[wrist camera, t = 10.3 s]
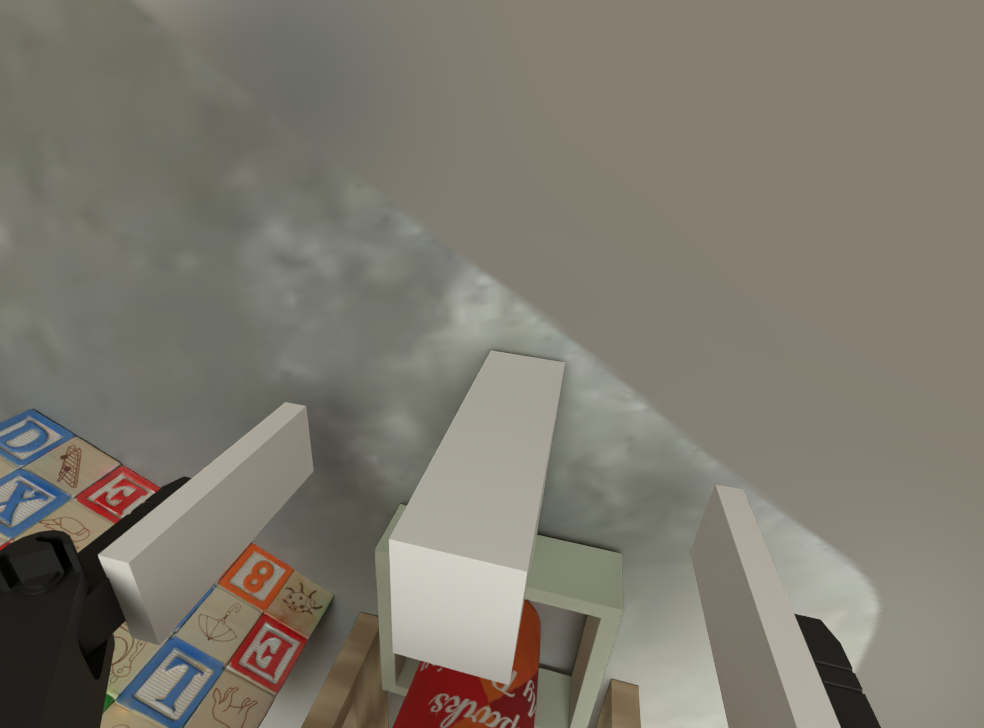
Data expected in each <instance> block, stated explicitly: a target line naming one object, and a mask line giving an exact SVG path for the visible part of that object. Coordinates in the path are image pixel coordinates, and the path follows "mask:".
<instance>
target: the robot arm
mask: <svg viewBox="0 0 984 728" xmlns="http://www.w3.org/2000/svg"><path fill="white" fill-rule="evenodd" d="M313 471H314V470H313V461H312V452H311V444H310V435H309V426H308V417H307V409H306V406H303V405H298V404H292V403H287V402H285V403H284V404H283V405H282V406H280V407H279V408H278V409H277V410H275V411H274V412H273V413H272V414H270V415H269V416H268V417H267V418H266V419H264V420H263V421H262V422H261V423H259V424H258V425H257V426H256V427H254V428H253V429H252V430H251V431H250V432H248V433H247V434H246V435H245V436H243V437H242V438H241V439H240V440H238V441H237V442H236V443H235V444H234V445H232V446H231V447H230V448H229V449H227V450H226V451H225V452H224V453H222V454H221V455H220V456H219V457H218V458H216V459H215V460H214V461H213V462H211V463H210V464H209V465H208V466H206V467H205V468H204V469H203V470H202V471H200V472H199V473H198V474H197V475H195V476H194V477H193V478H188V477H182V478H180V479H178V480H176V481H174V482H171V483H169V484H167V485H165V486H163V487H162V488H160V489H159V490H158V491H157V492H155V493H154V494H153V495H151V496H150V497H149V498H148V499H146V500H145V503H141V504H140V505H139V506H137V507H136V508H135V509H133V510H132V511H131V513H130V514H127V515H126V516H124V517H123V518H122V519H121V520H119V521H118V522H117V523H115V524H114V525H113V526H112V527H110V528H109V529H108V530H106V531H105V532H104V533H103V534H101V535H100V536H99V537H97V538H96V539H95V540H94V541H92V542H91V543H90V544H88V545H87V546H86V547H85V548H83V549H82V550H81V551H79V552H78V553H77V550H76V548H75V546H74V543H73V541H72V539H71V537H70V535H68V534H67V533H66V532H64V531H58V530H49V531H41V532H37V533H34V534H31V535H28V536H25V537H22V538H20V539H18V540H16V541H14V542H12V543H10V544H8V545H7V546H6V547H4V548H3V549H2V550H0V728H100V726H101V721H102V715H103V709H104V704H105V698H106V692H107V687H108V681H109V676H110V670H111V664H112V659H113V653H114V647H115V639H114V635H113V633H114V632H115V631H116V630H117V629H118V628H119V627H120V626H121V625H122V624H123V623H124V622H126V625H127V627H128V630H129V632H130V634H131V637H132V638H135V639H139V640H142V641H145V642H149V643H152V644H156V645H159V646H160V645H161V643H162V642H163V641H164V640H165V639H166V638H167V637H168V635H169V634H170V633H171V632H172V631H173V630H174V629H175V628H176V626H177V625H178V624H179V623H180V622H181V621H182V620H183V618H184V617H185V616H186V615H187V614H188V613H189V612H190V611H191V609H192V608H193V607H194V606H195V605H196V604H197V603H198V601H199V600H200V599H201V598H202V597H203V596H204V595H205V594H206V592H207V591H208V590H209V589H210V588H211V587H212V586H213V585H214V583H215V582H216V581H217V580H218V579H219V578H220V577H221V575H222V574H223V573H224V572H225V571H226V570H227V569H228V568H229V566H230V565H231V564H232V563H233V562H234V561H235V560H236V558H237V557H238V556H239V555H240V554H241V553H242V552H243V551H244V549H245V548H246V547H247V546H248V545H249V544H250V543H251V542H252V540H253V539H254V538H255V537H256V536H257V535H258V534H259V532H260V531H261V530H262V529H263V528H264V527H265V526H266V525H267V523H268V522H269V521H270V520H271V519H272V518H273V517H274V515H275V514H276V513H277V512H278V511H279V510H280V509H281V508H282V506H283V505H284V504H285V503H286V502H287V501H288V500H289V499H290V497H291V496H292V495H293V494H294V493H295V492H296V491H297V489H298V488H299V487H300V486H301V485H302V484H303V483H304V482H305V480H306V479H307V478H308V477H309V476H310V475H311V474H312V472H313ZM691 557H692V561H693V566H694V571H695V575H696V580H697V584H698V589H699V593H700V598H701V603H702V607H703V612H704V616H705V621H706V626H707V630H708V635H709V639H710V644H711V648H712V653H713V658H714V662H715V667H716V671H717V676H718V681H719V685H720V690H721V694H722V699H723V703H724V708H725V713H726V717H727V722H728V726H729V728H881V727H880V725H879V723H878V721H877V718H876V716H875V714H874V712H873V710H872V708H871V706H870V704H869V702H868V700H867V698H866V696H865V694H863V693H862V687H861V686H860V683H859V681H858V679H857V677H856V675H855V673H853V672H852V666H851V664H850V662H849V660H848V658H847V656H846V654H845V652H844V650H843V648H842V645H841V643H840V642H839V641H838V640H837V639H836V637H835V636H834V635H833V634H832V633H831V632H830V630H829V629H828V628H827V627H826V626H825V625H824V623H823V622H822V621H821V620H819V619H815V618H810V617H806V616H802V615H797V614H794V612H793V610H792V608H791V605H790V603H789V600H788V598H787V595H786V593H785V590H784V588H783V586H782V583H781V581H780V578H779V576H778V573H777V571H776V569H775V566H774V564H773V561H772V559H771V556H770V554H769V552H768V549H767V547H766V544H765V542H764V539H763V537H762V534H761V532H760V530H759V527H758V525H757V522H756V520H755V517H754V515H753V513H752V510H751V508H750V505H749V503H748V500H747V498H746V496H745V493H744V491H743V490H742V489H736V488H731V487H726V486H721V485H716V484H715V487H714V490H713V492H712V495H711V498H710V501H709V503H708V506H707V509H706V511H705V514H704V517H703V519H702V522H701V525H700V528H699V530H698V533H697V536H696V538H695V541H694V544H693V546H692V549H691Z"/></svg>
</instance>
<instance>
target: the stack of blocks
mask: <svg viewBox="0 0 984 728" xmlns="http://www.w3.org/2000/svg"><path fill="white" fill-rule="evenodd" d="M159 489H160V488H159V487H158V486H156V485H154V484H153V483H151V482H150V481H148V480H146V479H145V478H143V477H142V476H140V475H138V474H137V473H135V472H133V471H131V470H130V469H128V468H127V467H124V466H121V464H120V463H119V462H118V461H116V460H114V459H113V458H111V457H109V456H108V455H106V454H104V453H103V452H101V451H100V450H98V449H96V448H95V447H93V446H92V445H90V444H88V443H87V442H85V441H84V440H82V439H80V438H79V437H76V436H75V435H74V434H73V433H71V432H69V431H68V430H66V429H65V428H63V427H61V426H60V425H58V424H56V423H55V422H53V421H51V420H50V419H48V418H46V417H44V416H43V415H41V414H40V413H38V412H37V411H35V410H33V409H29V410H27V411H25V412H22V413H20V414H18V415H16V416H14V417H12V418H10V419H7V420H5V421H3V422H1V423H0V550H2V549H3V548H4V547H6V546H7V545H8V544H10V543H12V542H14V541H16V540H18V539H20V538H22V537H25V536H28V535H31V534H34V533H37V532H41V531H49V530H58V531H64V532H66V533H67V534H68V535H70V537H71V539H72V541H73V543H74V546H75V548H76V550H77V553H78V552H79V551H81V550H82V549H83V548H85V547H86V546H87V545H88V544H90V543H91V542H92V541H94V540H95V539H96V538H97V537H99V536H100V535H101V534H103V533H104V532H105V531H106V530H108V529H109V528H110V527H112V526H113V525H114V524H115V523H117V522H118V521H119V520H121V519H122V518H123V517H124V516H126V515H127V514H130V513H131V511H132V510H133V509H135V508H136V507H137V506H139V505H140V504H141V503H145V500H146V499H148V498H149V497H150V496H151V495H153V494H154V493H155V492H157V491H158V490H159ZM333 597H334V595H333V594H331V593H330V592H328V591H326V590H325V589H323V588H322V587H320V586H318V585H317V584H315V583H314V582H312V581H310V580H309V579H307V578H306V577H304V576H303V575H301V574H299V573H298V572H296V571H295V570H294V569H293V568H291V567H290V566H288V565H286V564H285V563H283V562H282V561H280V560H278V559H277V558H275V557H274V556H272V555H270V554H269V553H267V552H266V551H264V550H262V549H261V548H259V547H258V546H256V545H254V544H252V543H250V544H249V545H248V546H247V547H246V548H245V549H244V551H243V552H242V553H241V554H240V555H239V556H238V557H237V558H236V560H235V561H234V562H233V563H232V564H231V565H230V566H229V568H228V569H227V570H226V571H225V572H224V573H223V574H222V575H221V577H220V578H219V579H218V580H217V581H216V582H215V583H214V585H213V586H212V587H211V588H210V589H209V590H208V591H207V592H206V594H205V595H204V596H203V597H202V598H201V599H200V600H199V601H198V603H197V604H196V605H195V606H194V607H193V608H192V609H191V611H190V612H189V613H188V614H187V615H186V616H185V617H184V618H183V620H182V621H181V622H180V623H179V624H178V625H177V626H176V628H175V629H174V630H173V631H172V632H171V633H170V634H169V635H168V637H167V638H166V639H165V640H164V641H163V642H162V643H161V645H160V646H159V645H156V644H152V643H149V642H145V641H142V640H139V639H135V638H132V637H131V634H130V632H129V630H128V627H127V625H126V622H124V623H123V624H122V625H121V626H120V627H119V628H118V629H117V630H116V631H115V632H114V633H113V635H114V639H115V647H114V653H113V659H112V664H111V670H110V676H109V681H108V687H107V692H106V698H105V704H104V709H103V715H102V721H101V726H100V728H258V727H259V726H260V724H261V723H262V721H263V719H264V718H265V716H266V714H267V713H268V711H269V709H270V707H271V705H272V703H273V702H274V699H275V697H276V695H277V694H278V692H279V691H280V689H281V687H282V685H283V684H284V682H285V680H286V678H287V677H288V675H289V673H290V671H291V670H292V668H293V666H294V664H295V663H296V661H297V659H298V657H299V656H300V654H301V652H302V650H303V648H304V647H305V645H306V643H307V640H308V639H309V637H310V636H311V635H312V633H313V631H314V629H315V628H316V626H317V624H318V623H319V621H320V619H321V618H322V616H323V615H324V613H325V611H326V609H327V608H328V606H329V604H330V602H331V601H332V599H333Z"/></svg>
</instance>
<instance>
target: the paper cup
mask: <svg viewBox="0 0 984 728" xmlns="http://www.w3.org/2000/svg"><path fill="white" fill-rule="evenodd" d="M539 655H540V620H539V616H538V614H537V612H536V610H535V609H534V607H533V606H532V605H531V604H530V603H529V602H528V601H527V600H526V599H524V605H523V611H522V616H521V622H520V628H519V633H518V639H517V645H516V650H515V656H514V662H513V667H512V673H511V679H510V684H509V685H506V684H503V683H499V682H496V681H492V680H489V679H485V678H481V677H478V676H474V675H471V674H467V673H463V672H460V671H456V670H453V669H449V668H446V667H442V666H438V665H435V664H431V663H428V662H424V661H420V664H419V666H418V668H417V671H416V673H415V675H414V678H413V680H412V683H411V685H410V687H409V690H408V692H407V695H406V697H405V699H404V702H403V704H402V707H401V709H400V711H399V714H398V716H397V719H396V721H395V723H394V726H393V728H535V718H536V703H537V688H538V672H539Z"/></svg>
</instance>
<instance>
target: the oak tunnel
mask: <svg viewBox="0 0 984 728" xmlns="http://www.w3.org/2000/svg"><path fill="white" fill-rule="evenodd" d="M301 728H389V727H388V706H387V691H385V690H382V673H381V655H380V637H379V619H378V617H377V616H373V615H370V614H366V613H362V612H361V613H360V615H359V617H358V619H357V621H356V623H355V624H354V626H353V628H352V630H351V632H350V634H349V636H348V638H347V640H346V642H345V644H344V646H343V648H342V650H341V652H340V654H339V655H338V657H337V659H336V661H335V663H334V665H333V667H332V669H331V671H330V673H329V675H328V677H327V679H326V681H325V683H324V685H323V686H322V688H321V690H320V692H319V694H318V696H317V698H316V700H315V702H314V704H313V706H312V708H311V710H310V712H309V714H308V715H307V717H306V719H305V721H304V723H303V725H302V727H301ZM596 728H641V723H640V706H639V689H638V686H635V685H631V684H628V683H624V682H620V681H616V680H613V679H612V680H611V683H610V686H609V689H608V692H607V695H606V698H605V701H604V704H603V707H602V710H601V713H600V716H599V719H598V722H597V725H596Z"/></svg>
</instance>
